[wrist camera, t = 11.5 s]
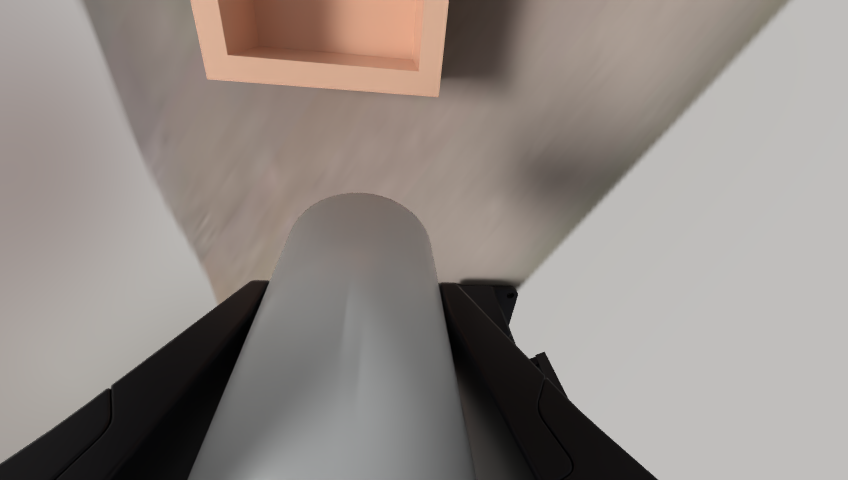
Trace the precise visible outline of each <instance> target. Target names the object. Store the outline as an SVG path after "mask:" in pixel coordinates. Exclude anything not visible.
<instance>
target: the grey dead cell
mask: <svg viewBox="0 0 848 480" xmlns="http://www.w3.org/2000/svg"><path fill="white" fill-rule="evenodd" d="M187 480H477V478H476V473H475V468H474V463H473V458H472V453H471V447H470V442H469V437H468V432H467V427H466V422H465V417H464V412H463V407H462V402H461V396H460V391H459V386H458V381H457V376H456V371H455V366H454V361H453V356H452V351H451V345H450V340H449V335H448V330H447V325H446V320H445V315H444V310H443V305H442V299H441V294H440V289H439V284H438V279H437V274H436V269H435V264H434V259H433V254H432V248H431V243H430V240H429V236H428V234H427V232H426V230H425V228H424V226H423V225H422V223H421V222H420V221H419V219H418V218H417V217H416V216H415V215H414V214H413V213H412V212H411V211H409V210H408V209H407V208H405V207H404V206H402V205H401V204H399V203H397V202H395V201H393V200H391V199H388V198H385V197H382V196H378V195H374V194H367V193H347V194H340V195H336V196H332V197H329V198H327V199H324V200H322V201H320V202H318V203H316V204H314V205H313V206H311V207H310V208H309V209H307V210H306V211H305V212H304V213H303V214H302V215H301V216H300V217H299V218H298V220H297V221H296V222H295V224H294V226H293V228H292V230H291V232H290V234H289V236H288V239H287V241H286V244H285V246H284V248H283V251H282V253H281V256H280V258H279V260H278V263H277V265H276V268H275V270H274V272H273V275H272V277H271V280H270V282H269V285H268V287H267V289H266V292H265V294H264V297H263V299H262V301H261V304H260V306H259V309H258V311H257V313H256V316H255V318H254V321H253V323H252V325H251V328H250V330H249V333H248V335H247V337H246V340H245V342H244V345H243V347H242V349H241V352H240V354H239V357H238V359H237V361H236V364H235V366H234V369H233V371H232V374H231V376H230V378H229V381H228V383H227V386H226V388H225V390H224V393H223V395H222V398H221V400H220V402H219V405H218V407H217V410H216V412H215V414H214V417H213V419H212V422H211V424H210V426H209V429H208V431H207V434H206V436H205V438H204V441H203V443H202V446H201V448H200V450H199V453H198V455H197V458H196V460H195V463H194V465H193V467H192V470H191V472H190V475H189V477H188V479H187Z"/></svg>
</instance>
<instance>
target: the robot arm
mask: <svg viewBox="0 0 848 480" xmlns="http://www.w3.org/2000/svg"><path fill="white" fill-rule="evenodd" d="M268 285H269V281H267V280H253V281H250V282H249V283H247V284H246V285H245V286H243V287H242V288H241V289H239V290H238V291H237V292H235V293H234V294H233V295H231V296H230V297H229V298H227V299H226V300H225V301H223V302H222V303H221V304H219V305H218V306H217V307H215V308H214V309H213V310H211V311H210V312H209V313H207V314H206V315H205V316H203V317H202V318H201V319H199V320H198V321H197V322H196V323H194V324H193V325H191V326H190V327H189V328H187V329H186V330H185V331H183V332H182V333H181V334H179V335H178V336H177V337H176V338H174V339H173V340H171V341H170V342H169V343H167V344H166V345H165V346H163V347H162V348H161V349H160V350H158V351H157V352H155V353H154V354H153V355H151V356H150V357H149V358H147V359H146V360H145V361H143V362H142V363H141V364H139V365H138V366H137V367H135V368H134V369H133V370H131V371H130V372H129V373H127V374H126V375H125V376H123V377H122V378H121V379H119V380H118V381H117V382H115V383H114V384H113V385H112V386H111V389H109V388H108V389H106V390H104V391H103V392H102V393H100V394H99V395H98V396H96V397H95V398H94V399H92V400H91V401H90V402H88V403H87V404H86V405H84V406H83V407H81V408H80V409H79V410H77V411H76V412H75V413H73V414H72V415H70V416H69V417H68V418H66V419H65V420H64V421H62V422H61V423H59V424H58V425H57V426H55V427H54V428H52V429H51V430H50V431H48V432H47V433H45V434H44V435H42V436H41V437H39V438H38V439H36V440H35V441H33V442H32V443H30V444H29V445H27V446H26V447H25V448H23V449H22V450H20V451H19V452H17V453H16V454H14V455H13V456H11V457H10V458H8V459H7V460H5V461H4V462H2V463H1V464H0V480H187V479H188V477H189V475H190V472H191V470H192V467H193V465H194V463H195V460H196V458H197V455H198V453H199V450H200V448H201V446H202V443H203V441H204V438H205V436H206V434H207V431H208V429H209V426H210V424H211V422H212V419H213V417H214V414H215V412H216V410H217V407H218V405H219V402H220V400H221V398H222V395H223V393H224V390H225V388H226V386H227V383H228V381H229V378H230V376H231V374H232V371H233V369H234V366H235V364H236V361H237V359H238V357H239V354H240V352H241V349H242V347H243V345H244V342H245V340H246V337H247V335H248V333H249V330H250V328H251V325H252V323H253V321H254V318H255V316H256V313H257V311H258V309H259V306H260V304H261V301H262V299H263V297H264V294H265V292H266V289H267V287H268ZM439 289H440V294H441V299H442V305H443V310H444V315H445V320H446V325H447V330H448V335H449V340H450V345H451V351H452V356H453V361H454V366H455V371H456V376H457V381H458V386H459V391H460V396H461V402H462V407H463V412H464V417H465V422H466V427H467V432H468V437H469V442H470V447H471V453H472V458H473V463H474V468H475V473H476V478H477V480H658V479H656V478H655V477H654V476H653V475H652V474H651V473H650V472H649V471H647V470H646V469H645V468H644V467H643V466H642V465H640V464H639V463H638V462H637V461H636V460H635V459H634V458H633V457H631V456H630V455H629V454H628V453H627V452H626V451H625V450H623V449H622V448H621V447H620V446H619V445H618V444H617V443H615V442H614V441H613V440H612V439H611V438H610V437H609V436H607V435H606V434H605V433H604V432H603V431H601V429H599V428H598V427H597V426H596V425H595V424H594V423H593V422H592V421H591V420H590V419H588V418H587V417H586V416H585V415H584V414H583V413H582V412H581V411H580V410H579V409H578V408H577V407H576V406H575V405H574V404H572V402H571V401H570V400H569V399H568V398H567V395H566V393H565V392H564V390H563V387H562V386H561V383H560V382H559V380H558V378H557V376H556V374H555V372H554V370H553V368H552V366H551V364H550V362H549V360H548V358H547V356H546V354H545V352H543V353H540V354H537V355H536V357H534V358H531V359H529V358H528V357H527V356H526V355H525V354H524V353H523V352H522V351H521V350H520V349H519V348H518V347H517V346H516V344H515V342H514V339H513V336H512V334H511V331H510V328H509V323H510V319H511V316H512V313H513V310H514V306H515V303H516V300H517V296H518V293H517V291H516V289H515V287H513V286H475V285H457V284H456V283H440V284H439ZM509 293H511V294H509Z"/></svg>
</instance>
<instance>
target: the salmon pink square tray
mask: <svg viewBox="0 0 848 480" xmlns="http://www.w3.org/2000/svg"><path fill="white" fill-rule="evenodd" d="M448 4H449V0H191V5H192V9H193V14H194V19H195V23H196V28H197V33H198V38H199V42H200V47H201V52H202V56H203V61H204V66H205V70H206V75H207V79H212V80H225V81H238V82H251V83H264V84H277V85H290V86H302V87H315V88H328V89H341V90H354V91H367V92H380V93H393V94H405V95H418V96H431V97H439V89H440V79H441V70H442V60H443V51H444V41H445V32H446V23H447V13H448Z"/></svg>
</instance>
